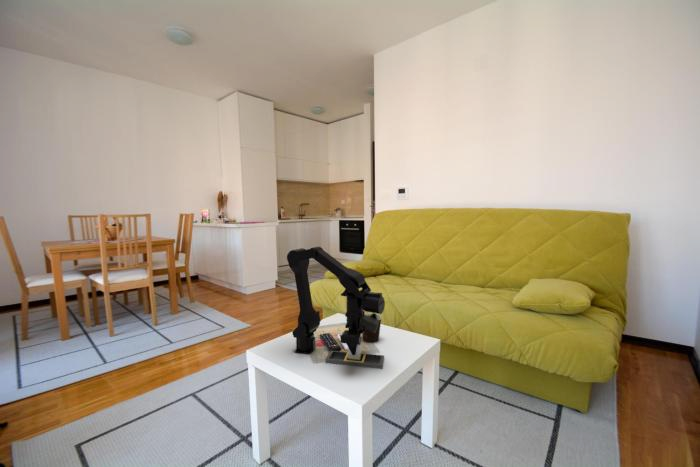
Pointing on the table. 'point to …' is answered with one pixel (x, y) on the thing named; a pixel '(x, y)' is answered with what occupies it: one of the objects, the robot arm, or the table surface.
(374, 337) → the coffee mug
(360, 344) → the block
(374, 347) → the table surface
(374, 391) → the table surface
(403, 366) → the table surface
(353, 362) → the rail
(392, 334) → the table surface
